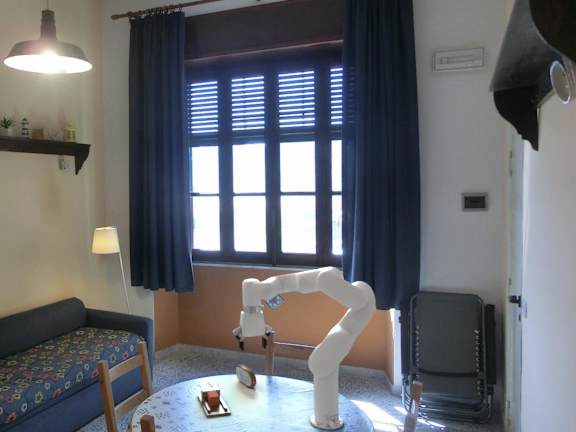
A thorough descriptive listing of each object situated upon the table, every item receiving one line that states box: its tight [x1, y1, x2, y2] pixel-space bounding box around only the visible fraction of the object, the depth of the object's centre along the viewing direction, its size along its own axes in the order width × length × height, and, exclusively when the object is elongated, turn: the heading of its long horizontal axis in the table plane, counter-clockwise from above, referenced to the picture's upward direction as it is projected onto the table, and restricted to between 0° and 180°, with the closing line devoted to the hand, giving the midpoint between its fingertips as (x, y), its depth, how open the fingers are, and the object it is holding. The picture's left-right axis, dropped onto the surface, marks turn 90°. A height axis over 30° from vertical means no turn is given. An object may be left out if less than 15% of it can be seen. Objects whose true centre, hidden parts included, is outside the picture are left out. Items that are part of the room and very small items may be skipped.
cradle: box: [197, 386, 232, 418], centre depth 216 cm, size 20×10×5 cm, turn 11°
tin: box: [235, 363, 257, 389], centre depth 237 cm, size 15×3×8 cm, turn 25°
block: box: [207, 391, 219, 406], centre depth 217 cm, size 6×4×4 cm, turn 10°
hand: (253, 348), depth 210 cm, fingers open, 9 cm apart
